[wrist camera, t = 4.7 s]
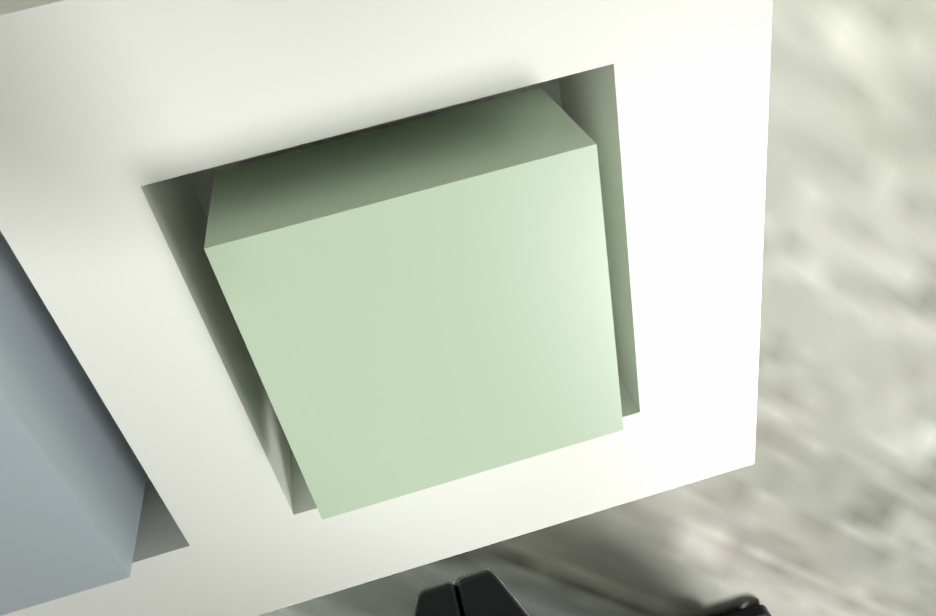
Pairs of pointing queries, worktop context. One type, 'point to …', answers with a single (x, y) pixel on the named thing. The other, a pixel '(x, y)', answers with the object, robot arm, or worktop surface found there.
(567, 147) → the sage key
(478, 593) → the robot arm
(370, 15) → the keypad
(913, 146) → the worktop surface
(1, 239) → the slate key
